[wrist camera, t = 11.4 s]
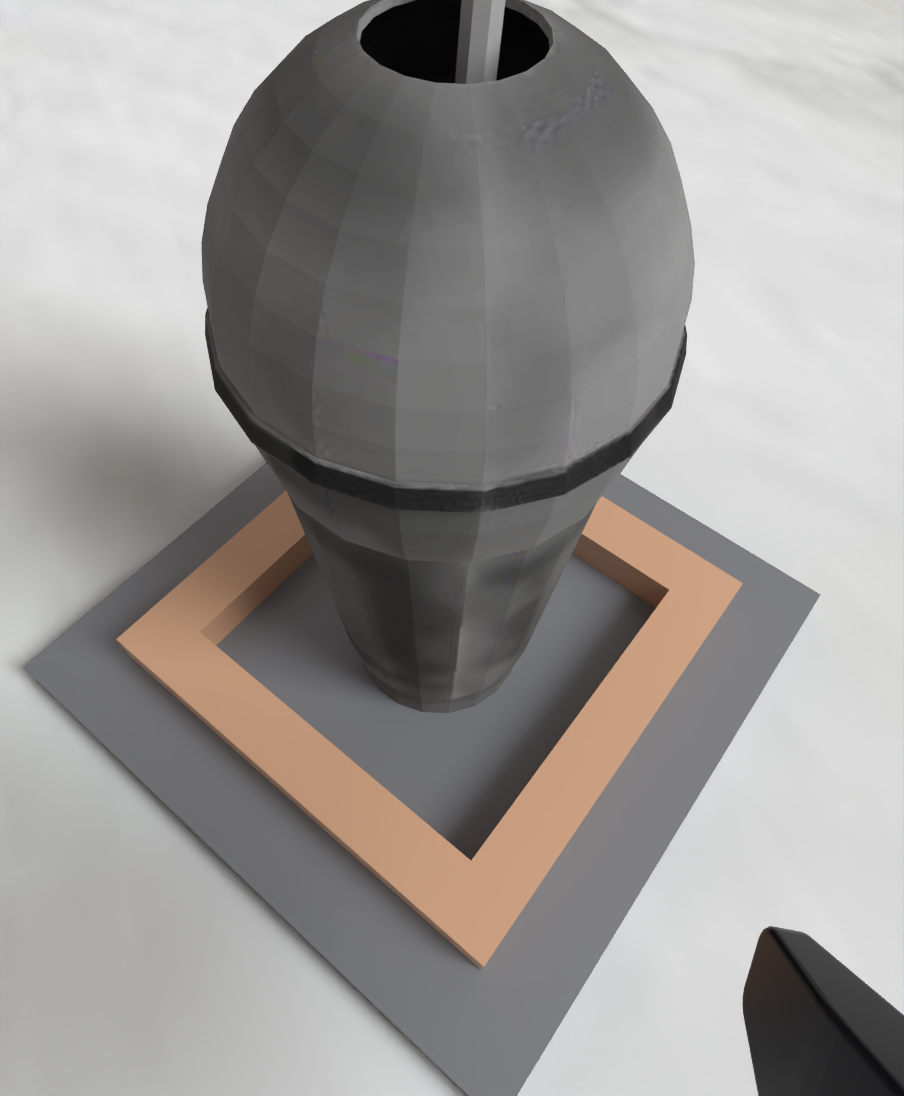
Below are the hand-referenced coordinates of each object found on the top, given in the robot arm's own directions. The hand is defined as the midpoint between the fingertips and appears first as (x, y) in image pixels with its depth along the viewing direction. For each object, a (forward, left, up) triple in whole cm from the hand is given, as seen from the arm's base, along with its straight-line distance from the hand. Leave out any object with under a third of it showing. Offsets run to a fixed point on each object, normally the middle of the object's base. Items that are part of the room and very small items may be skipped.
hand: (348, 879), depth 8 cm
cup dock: (+7, +4, -11) cm, 14 cm away
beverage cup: (+7, +4, -11) cm, 13 cm away
